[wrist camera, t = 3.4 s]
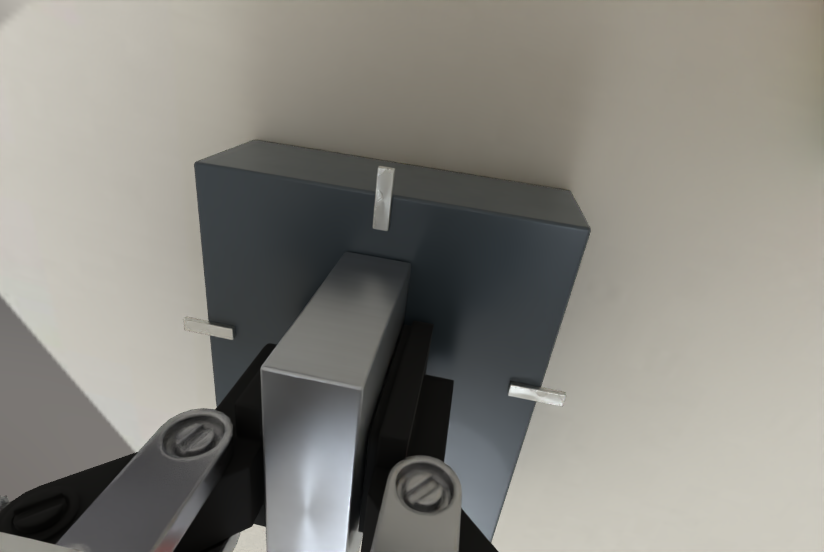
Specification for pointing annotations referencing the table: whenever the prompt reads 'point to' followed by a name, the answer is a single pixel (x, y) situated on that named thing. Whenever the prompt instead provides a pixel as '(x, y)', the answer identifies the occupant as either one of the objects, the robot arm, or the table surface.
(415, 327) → the robot arm
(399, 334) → the tap handle
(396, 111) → the table surface
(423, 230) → the panel
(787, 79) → the table surface
